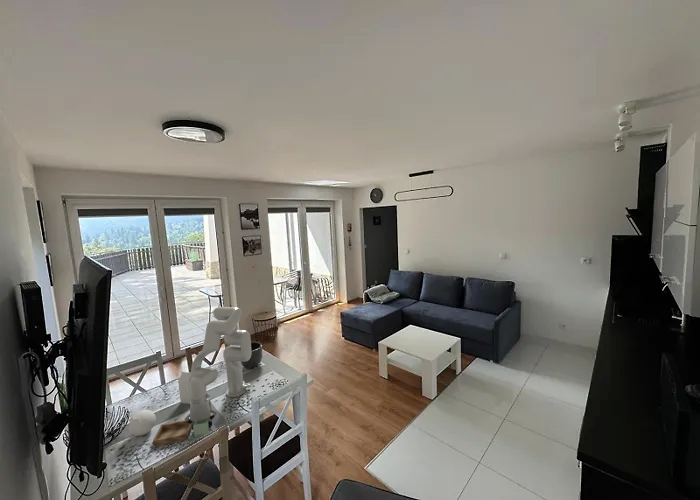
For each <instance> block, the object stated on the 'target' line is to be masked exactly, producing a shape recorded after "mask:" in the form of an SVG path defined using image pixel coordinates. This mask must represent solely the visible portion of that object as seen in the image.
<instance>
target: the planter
mask: <svg viewBox="0 0 700 500" xmlns="http://www.w3.org/2000/svg"><path fill="white" fill-rule="evenodd" d="M262 359H263V345H262V343H261V342H259V341H251V358H250V359H249V360H248V361H245V362H241V364H242V367H244V368H245V369H246V370H254V369H256V368H257V367H258V366H259V364H260V363H261V362H262Z"/></svg>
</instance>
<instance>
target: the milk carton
mask: <svg viewBox="0 0 700 500" xmlns="http://www.w3.org/2000/svg"><path fill="white" fill-rule="evenodd" d="M190 379H191V371H190V372H189V371H181V374H180V376H179V378H178V380H177V382H178V384H177V385H178V391H179V399H180V403H181V404H188V405H190V403H191V393H190V384H189V381H190Z"/></svg>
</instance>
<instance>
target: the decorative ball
mask: <svg viewBox="0 0 700 500" xmlns="http://www.w3.org/2000/svg"><path fill="white" fill-rule="evenodd" d="M156 422H157V416H156V414H155V412H154V411H152V410H150V409H144V410H143V409H142V410H140V411H138V412H136V413H135V414H134V415H133V416H132V417H131V418H130V419H129V422H128V431H129V432H130V433H131V434H132V435H134V436H137V437H138V436H144V435H147V434H148V433H149V432H150V431H151V430H152V429H154V427H155V425H156Z"/></svg>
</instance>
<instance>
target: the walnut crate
mask: <svg viewBox="0 0 700 500" xmlns="http://www.w3.org/2000/svg"><path fill="white" fill-rule="evenodd" d="M192 431H193V430H192V425H191V424H189V423H188V422H187V421H185V420H184V419H183V420H178V421H172V422H167V423H163V424H161V425H160V426H159V429H158V430H157V432H156V435H154V436H155V437H154V438H153V440H152V445H153V446H152V447H153V448H155V447H159V446H165V445H169V444H172V443H179V442H182V441H183V442H184V441H186V440H188V441H189V438H190V436H191V433H192Z"/></svg>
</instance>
